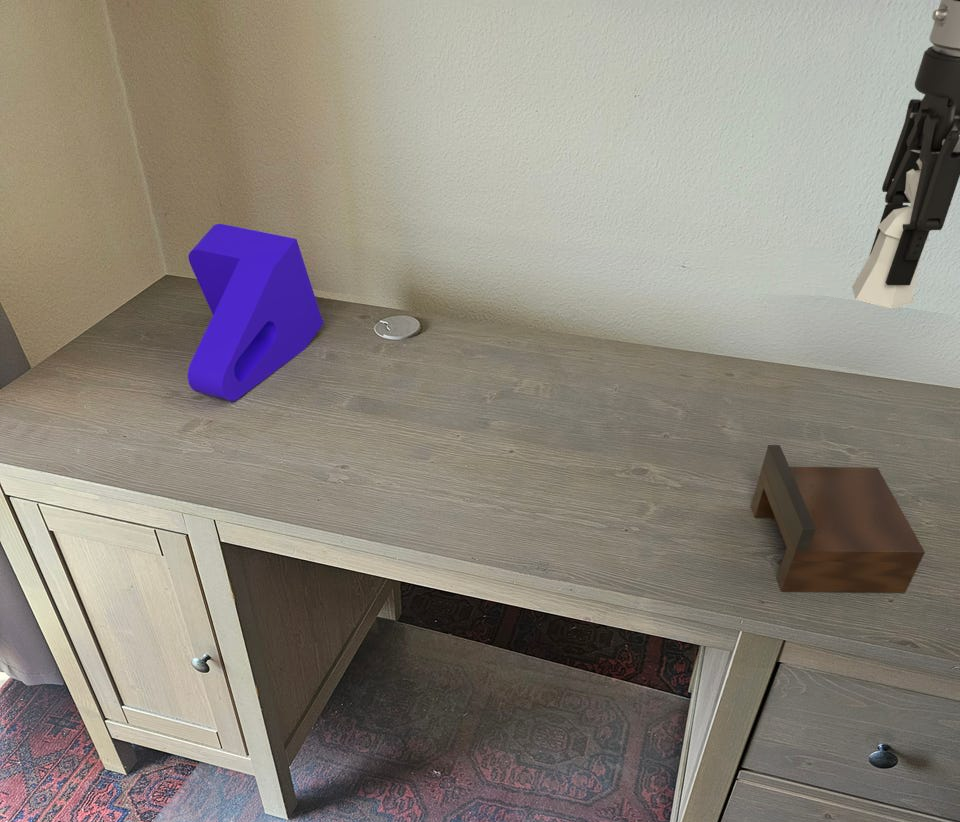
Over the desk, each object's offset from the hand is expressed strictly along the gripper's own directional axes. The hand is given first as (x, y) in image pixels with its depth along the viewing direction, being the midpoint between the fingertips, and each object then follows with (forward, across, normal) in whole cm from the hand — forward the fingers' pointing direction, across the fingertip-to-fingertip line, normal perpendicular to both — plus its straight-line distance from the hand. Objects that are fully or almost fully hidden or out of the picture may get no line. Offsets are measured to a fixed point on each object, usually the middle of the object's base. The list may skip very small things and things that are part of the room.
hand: (888, 271), depth 106 cm
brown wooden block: (+22, +27, -9) cm, 36 cm away
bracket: (+23, -18, -88) cm, 93 cm away
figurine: (+3, 0, 0) cm, 3 cm away
